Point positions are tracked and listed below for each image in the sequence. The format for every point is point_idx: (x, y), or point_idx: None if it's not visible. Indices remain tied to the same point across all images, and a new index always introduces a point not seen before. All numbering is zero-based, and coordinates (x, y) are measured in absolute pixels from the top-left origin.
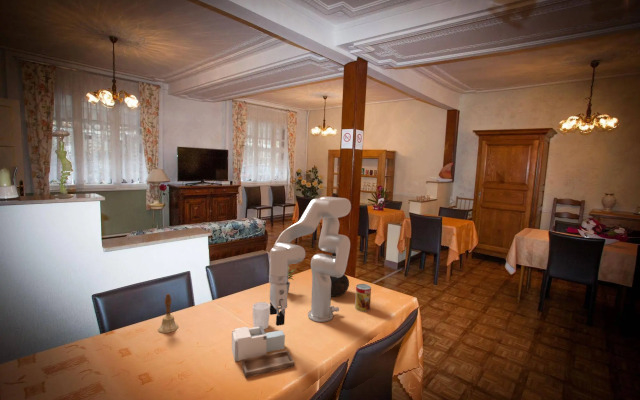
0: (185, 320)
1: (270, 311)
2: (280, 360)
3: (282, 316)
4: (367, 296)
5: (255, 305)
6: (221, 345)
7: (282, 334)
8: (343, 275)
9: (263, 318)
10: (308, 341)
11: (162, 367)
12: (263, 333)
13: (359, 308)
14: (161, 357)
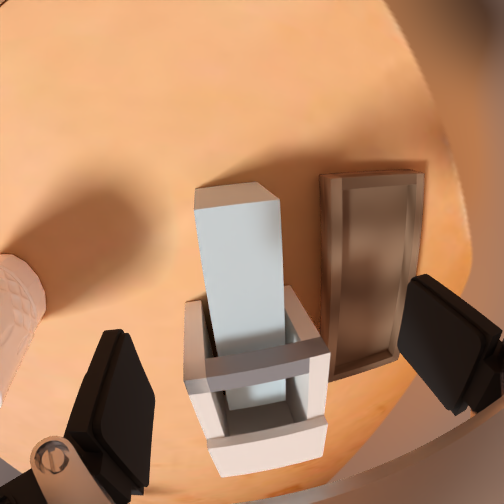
0: None
1: (149, 427)
2: (372, 227)
3: (498, 350)
4: None
5: None
6: (175, 428)
7: (266, 217)
8: None
9: (15, 323)
10: (215, 23)
11: (258, 487)
12: (295, 370)
13: None
14: (218, 494)
